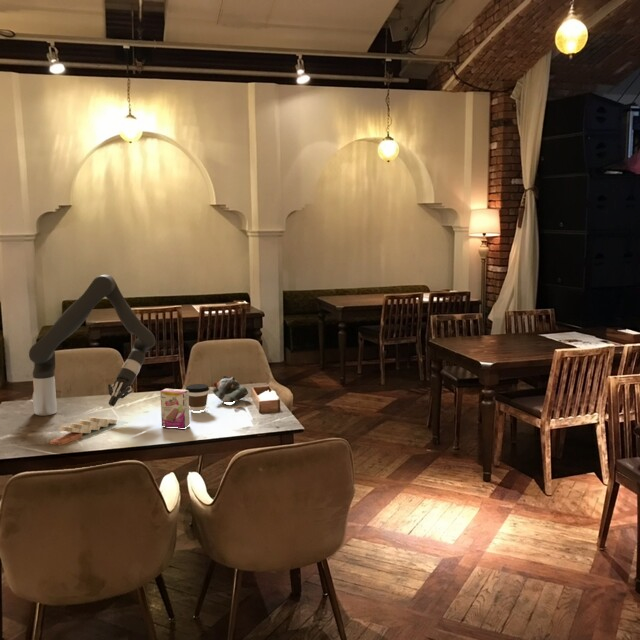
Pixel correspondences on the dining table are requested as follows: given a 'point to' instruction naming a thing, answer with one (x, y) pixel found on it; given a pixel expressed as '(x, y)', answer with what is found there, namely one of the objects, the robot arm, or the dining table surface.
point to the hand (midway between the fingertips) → (110, 405)
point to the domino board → (102, 429)
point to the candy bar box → (175, 408)
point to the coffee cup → (197, 396)
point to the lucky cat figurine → (229, 390)
